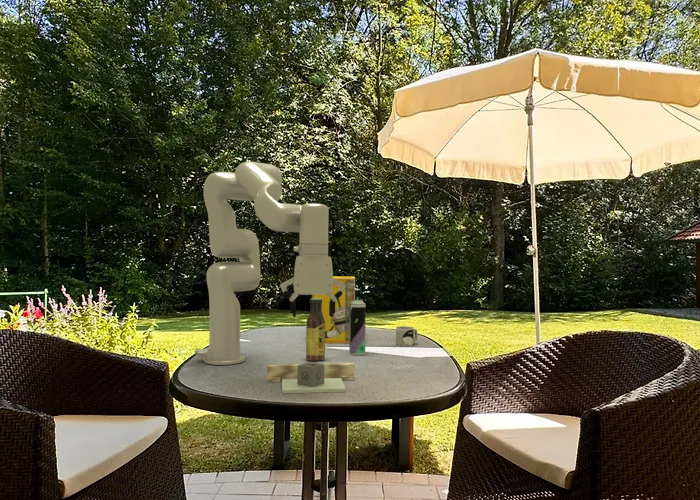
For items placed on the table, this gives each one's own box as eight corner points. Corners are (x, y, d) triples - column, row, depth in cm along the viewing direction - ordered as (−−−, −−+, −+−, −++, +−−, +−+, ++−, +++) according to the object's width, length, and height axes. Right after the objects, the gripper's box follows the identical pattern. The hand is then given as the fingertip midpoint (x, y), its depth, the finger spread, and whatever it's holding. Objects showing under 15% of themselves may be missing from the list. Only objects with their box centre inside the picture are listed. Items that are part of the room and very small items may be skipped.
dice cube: (313, 387, 136) (313, 367, 136) (297, 384, 139) (297, 365, 139) (324, 383, 140) (324, 364, 140) (308, 380, 143) (309, 361, 143)
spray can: (353, 356, 180) (354, 297, 180) (346, 353, 185) (347, 295, 185) (368, 354, 183) (368, 296, 183) (360, 352, 188) (361, 295, 188)
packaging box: (354, 343, 205) (354, 278, 205) (311, 343, 205) (312, 278, 205) (354, 336, 221) (354, 276, 221) (315, 336, 221) (315, 276, 221)
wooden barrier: (267, 382, 144) (267, 367, 144) (267, 377, 149) (267, 363, 149) (355, 380, 147) (355, 365, 147) (352, 376, 152) (352, 361, 152)
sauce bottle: (322, 362, 170) (322, 299, 170) (303, 361, 172) (303, 299, 172) (327, 358, 177) (327, 298, 177) (308, 357, 178) (309, 297, 178)
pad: (282, 393, 133) (282, 390, 133) (281, 382, 144) (282, 379, 144) (346, 391, 135) (346, 388, 135) (340, 381, 146) (341, 378, 146)
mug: (404, 347, 198) (404, 329, 198) (392, 344, 203) (392, 327, 203) (423, 344, 204) (423, 327, 204) (410, 342, 210) (411, 325, 210)
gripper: (280, 250, 135) (279, 318, 135) (348, 251, 137) (347, 318, 138) (280, 250, 143) (279, 314, 143) (344, 251, 145) (343, 314, 145)
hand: (312, 316), depth 140 cm, fingers open, 9 cm apart
